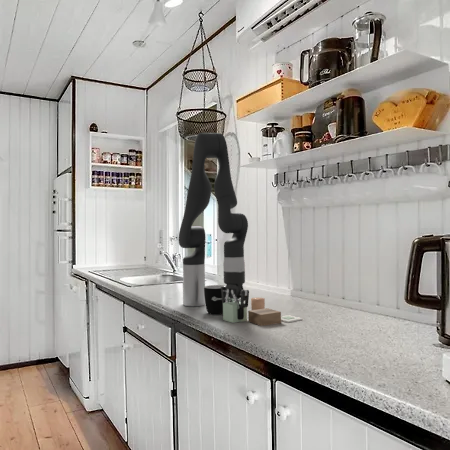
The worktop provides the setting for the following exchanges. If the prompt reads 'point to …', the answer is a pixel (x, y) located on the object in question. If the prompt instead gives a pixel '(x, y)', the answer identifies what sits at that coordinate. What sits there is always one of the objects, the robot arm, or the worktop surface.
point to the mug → (213, 299)
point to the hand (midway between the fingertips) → (235, 317)
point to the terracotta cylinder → (257, 303)
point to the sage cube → (232, 312)
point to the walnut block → (264, 316)
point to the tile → (290, 318)
